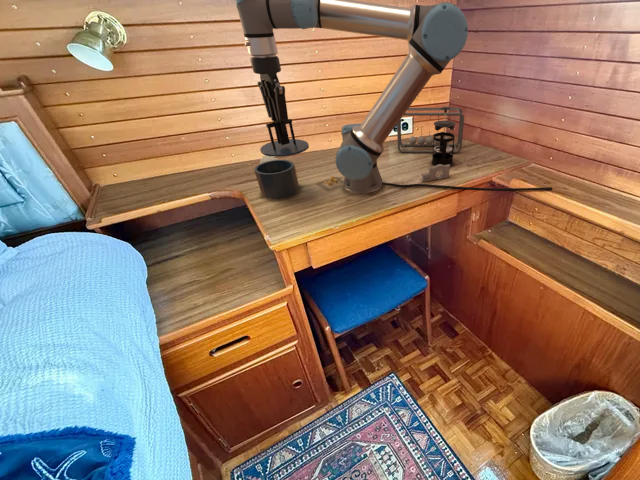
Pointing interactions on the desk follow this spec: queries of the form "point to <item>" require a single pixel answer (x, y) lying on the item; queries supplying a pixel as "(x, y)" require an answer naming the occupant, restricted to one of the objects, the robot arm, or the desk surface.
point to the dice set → (331, 181)
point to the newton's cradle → (429, 139)
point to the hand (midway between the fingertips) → (284, 143)
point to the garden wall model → (433, 170)
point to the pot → (277, 179)
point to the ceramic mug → (267, 159)
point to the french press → (443, 142)
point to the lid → (283, 150)
